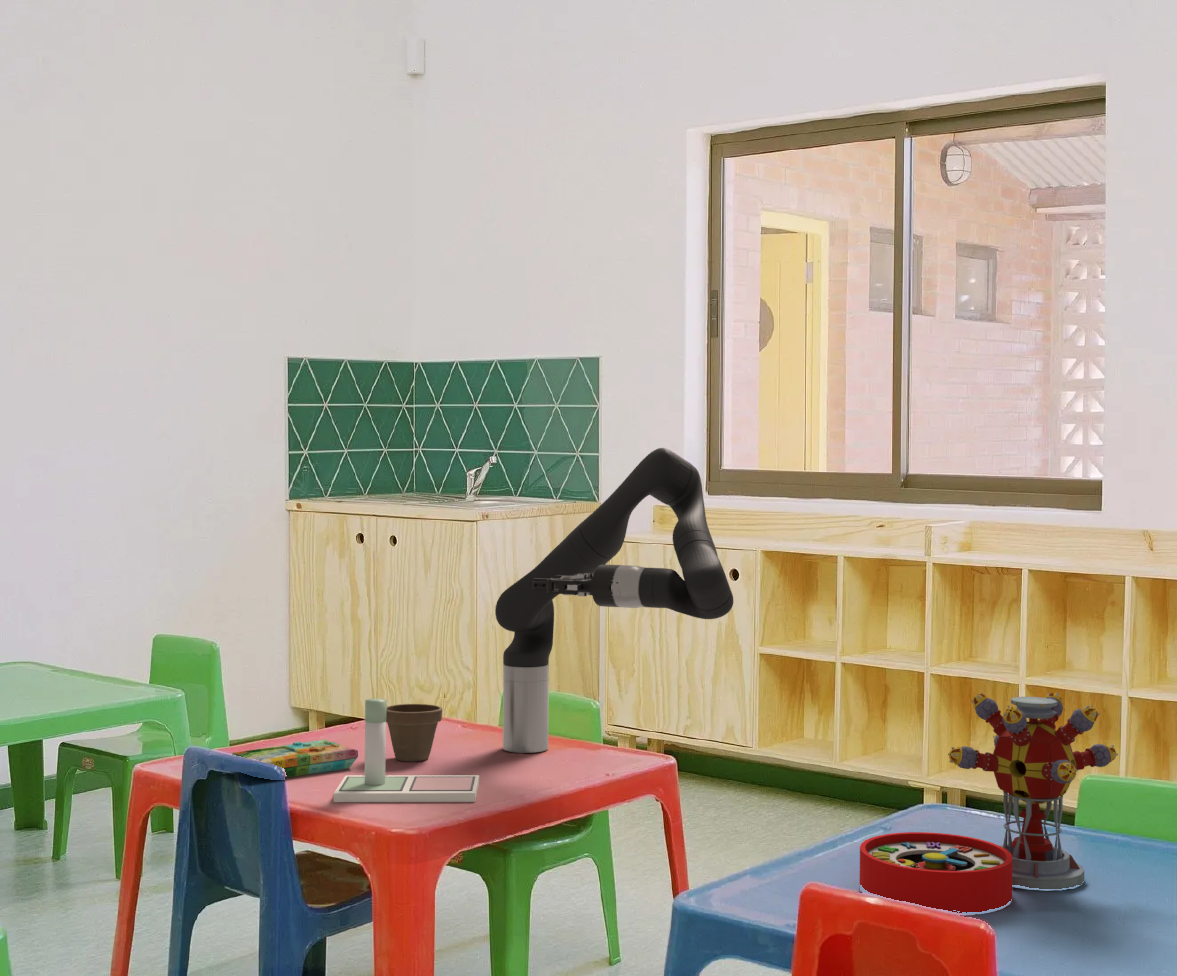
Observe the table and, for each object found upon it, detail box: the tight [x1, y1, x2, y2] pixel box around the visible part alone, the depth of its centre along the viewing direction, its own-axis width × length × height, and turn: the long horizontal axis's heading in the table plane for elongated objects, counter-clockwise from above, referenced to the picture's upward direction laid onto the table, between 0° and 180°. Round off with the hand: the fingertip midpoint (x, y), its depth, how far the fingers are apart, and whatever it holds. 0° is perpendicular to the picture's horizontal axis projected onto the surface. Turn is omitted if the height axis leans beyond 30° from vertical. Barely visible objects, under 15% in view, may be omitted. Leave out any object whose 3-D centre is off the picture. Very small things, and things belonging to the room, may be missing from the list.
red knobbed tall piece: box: [947, 691, 1119, 889], centre depth 196 cm, size 18×18×25 cm
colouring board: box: [333, 774, 480, 803], centre depth 245 cm, size 14×24×2 cm, turn 92°
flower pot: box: [386, 703, 443, 763], centre depth 274 cm, size 12×11×10 cm
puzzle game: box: [231, 739, 359, 778], centre depth 263 cm, size 12×5×20 cm
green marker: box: [364, 697, 388, 786], centre depth 244 cm, size 4×4×15 cm
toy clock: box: [859, 831, 1013, 913], centre depth 188 cm, size 20×6×20 cm
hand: (542, 582), depth 256 cm, fingers open, 8 cm apart
